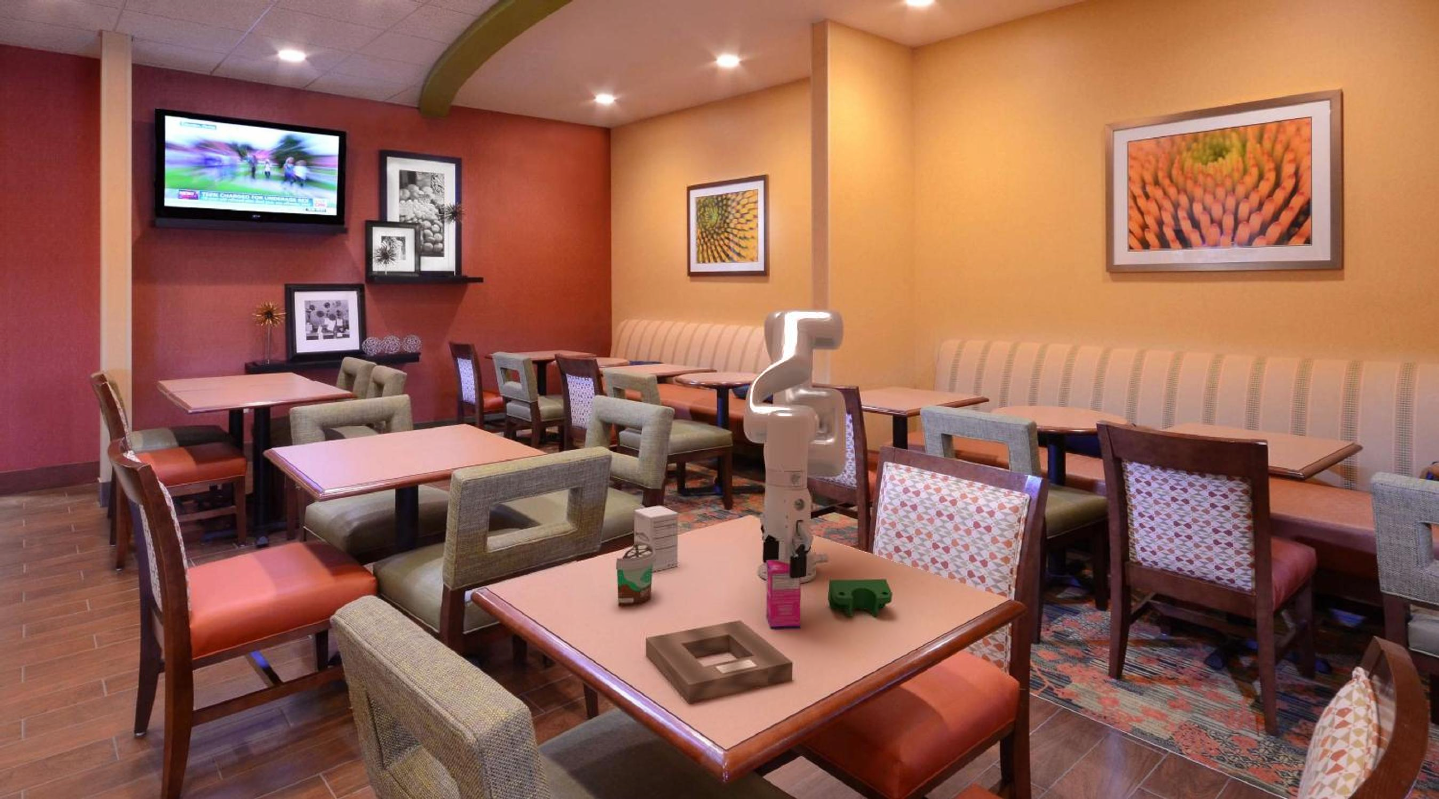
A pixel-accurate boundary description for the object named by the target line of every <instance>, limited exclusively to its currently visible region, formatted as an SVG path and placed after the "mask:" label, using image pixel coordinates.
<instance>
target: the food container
mask: <svg viewBox="0 0 1439 799" xmlns="http://www.w3.org/2000/svg"><path fill="white" fill-rule="evenodd" d="M656 560H657V558H656V553H655V550H654V548H653V546H652V545H650V544H648V543H645V542H640V541H633V546H632V548H631V549H628V550H627V551H626V552H625V553H624V554H623V556H622V557H619V558H618V557H616V562H615V570H616V576H617V577H616V578H617V579H616V580H617V581H616V582H617V604H618V605H617V607H634V605H635V606H640V605H643V604H646V603H648V602H649V601H650V600H651V596H652V595H651V594H652V583H653V582H652V580H653V572H652V571H653V563H654V562H656ZM642 603H643V604H642ZM639 604H640V605H639Z"/></svg>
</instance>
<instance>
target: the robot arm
mask: <svg viewBox="0 0 1439 799" xmlns="http://www.w3.org/2000/svg"><path fill="white" fill-rule="evenodd" d="M842 317H843V316H842V314H841V313H840V312H839V311H838V310H835V309H834V310H833V309H817V308H816V309H815V308H814V309H812V308H811V309H810V308H809V309H807V308H804V309H803V308H796V309H795V308H792V309H791V308H790V309H781V310H780V309H779V310H775V311H772V312H770V313H769V314H768V315H767V316H766V318H765V319H764V323H763V324H764V325H763V330H764V332H763V334H764V341H765V346H766V350H767V355H768V357H769V360H770V364H769V365H768V366H766V367H765V368H764V369H762V371H761V372H759V373H758V375H756V377H755V378H754V379H753V381H752V382H751V383H750V385H749V387H748V390H747V391H746V396H745V403H744V412H743V432H744V435H745V436H746V438H747V439H748V440H749V441H750V442H752V443H756V444H763V459H764V465H765V491H764V502H763V509H762V510H763V512H762V513H760V514H759V516H758V517H759V522H760V530H761V533H762V535H761V539H762V540H761V541H763V543H762V564H760V565H759V566H758V569H757V573H758V575H759V577H761V578H762V579H764V580H766V561H767V560H785V559H790V578H792V579H794V578H801V584H802V583H803V584H804V583H807V582H811V581H812V580H814V579H815V578H816V576H817V570H816V568H815V567H814V566H817V564H825V563H828V562H829V555H828V554H827V553H820V554H817V552H815V551H813V552H810V551H811V549H812V545H813V541H814V536H813V534H812V530H811V529H812V525H811V524H812V520H811V518H812V517H811V513H812V512H811V508H812V498H811V493H810V492H809V489H808V477H810V478H836V477H840V476H841V475H842V474H843V473H844V471H845V470H846V469H845V468H846V463H847V408H846V401H845V397H844V395H843V394H842V392H841V391H840V390H837V389H836V388H831V387H813V370H814V350H817V351H818V350H821V351H824V350H825V351H836V350H838V349H840V347H841V345H842V344H843V342H844V341H843V340H844V334H845V331H844V330H845V329H844V320H843V318H842ZM772 395H773V396H772ZM771 396H772V398H773V399H772V403H763V402H764V400H766V399H767V398H769V397H771Z"/></svg>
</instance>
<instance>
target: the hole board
mask: <svg viewBox="0 0 1439 799" xmlns="http://www.w3.org/2000/svg"><path fill="white" fill-rule="evenodd" d="M727 652H729V653H731V654H732V655H733V656H734V657H735V658H736V659H732V660H728V661H724V662H719V663H714V664H708V665H703V664H702V663H701V662H700V661H699V660H698V659H697V658H700V657H707V656H711V655H715V654H720V653H727ZM645 655H646V657H647V658H648V659H649V660H650V661H651V662H652V663H653V665H654V666H655V667H656V668H657V669H658V670H659V671H660V673H661V674H662V675H663V676H664V677H665V678H666V680H668V682H669V683H670V684H671V685H672V686H673V687H674V688H675V690H676V691H677V692H678V693H679V694H680V696H682V698H683V699H684V700H685V702H687V704H689V705H690V704H693V703H698V702H702V701H707V700H710V699H711V700H712V699H715V698H720V697H724V696H728V695H733V694H737V693H741V692H742V693H743V692H746V691H750V690H753V689H759V688H764V687H767V686H771V685H777V684H780V683H786V682H789V681H792V680H793V664H794V663H793V661H792V660H790V659H789V658H788V657H787V656H786V655H784V654H783V653H782V652H781V651H780V650H778V649H777V648H776V647H774V646H773V645H772V644H771V643H769V642H768V641H767V640H766V639H764V638H763V637H762V636H761V635H759V634H758V633H757V632H756V631H754V630H753V629H752V627H750V626H749V625H747V624H746V623H745V622H743V621H742V620H740V619H739V620H734V621H730V622H729V621H728V622H724V623H719V624H712V625H708V626H703V627H702V626H701V627H697V628H692V629H687V630H680V631H677V632H676V631H675V632H670V633H666V634H665V633H664V634H658V635H654V636H649V637H645Z"/></svg>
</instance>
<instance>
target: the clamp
mask: <svg viewBox="0 0 1439 799" xmlns="http://www.w3.org/2000/svg"><path fill="white" fill-rule="evenodd" d="M827 591H828V593H827V594H828V595H827V600H828V604H829V607H830V609H832V610H835V611H836V610H839V611H840V610H842V611H845V613H846V616H847V618H849V619H851V618H852V613H853V610H866V611H869V612H870V613H872V615H873V618H877V617H878V612H879V610H882V609H883V608H884V609H885V607H886V606H887V605H889V604H890V603H892V598H893V592H892V590H891V588H890V585H889V583H888V581H887V579H883V578H882V579H881V578H879V579H875V578H874V579H870V578H868V579H863V578H862V579H829V582H828V590H827Z"/></svg>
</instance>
